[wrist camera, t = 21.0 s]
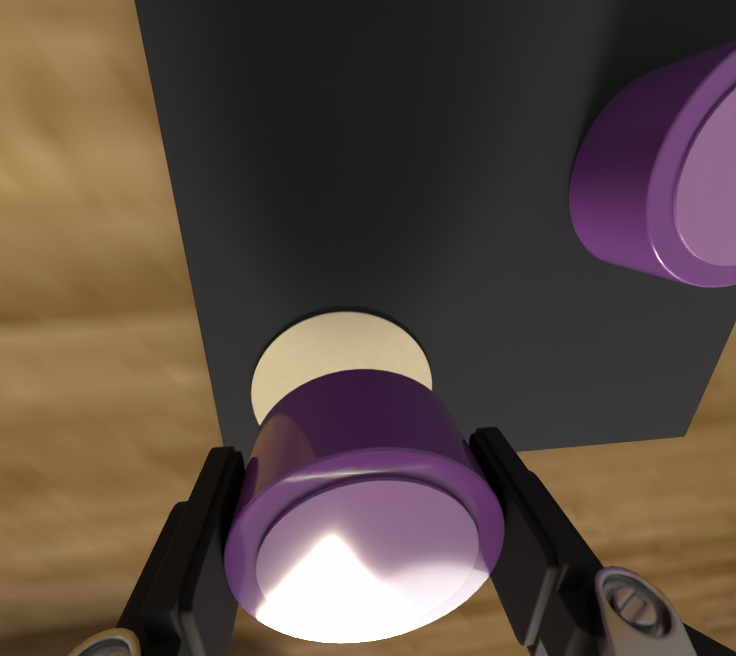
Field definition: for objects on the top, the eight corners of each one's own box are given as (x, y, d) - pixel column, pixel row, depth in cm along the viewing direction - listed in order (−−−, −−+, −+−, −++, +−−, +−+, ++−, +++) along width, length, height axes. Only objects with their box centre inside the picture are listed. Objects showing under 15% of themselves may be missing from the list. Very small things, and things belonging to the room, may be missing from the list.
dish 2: (550, 267, 13) (621, 293, 10) (594, 57, 10) (707, 3, 7) (701, 263, 13) (811, 286, 10) (776, 66, 11) (946, 21, 8)
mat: (232, 471, 15) (229, 480, 15) (23, -599, 6) (-3, -666, 5) (677, 431, 18) (686, 438, 17) (1019, -362, 8) (1059, -393, 8)
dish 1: (264, 539, 12) (243, 664, 9) (237, 374, 9) (193, 467, 6) (447, 520, 12) (488, 630, 9) (468, 361, 10) (532, 440, 7)
